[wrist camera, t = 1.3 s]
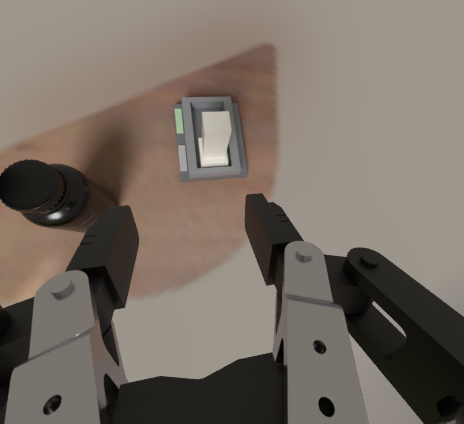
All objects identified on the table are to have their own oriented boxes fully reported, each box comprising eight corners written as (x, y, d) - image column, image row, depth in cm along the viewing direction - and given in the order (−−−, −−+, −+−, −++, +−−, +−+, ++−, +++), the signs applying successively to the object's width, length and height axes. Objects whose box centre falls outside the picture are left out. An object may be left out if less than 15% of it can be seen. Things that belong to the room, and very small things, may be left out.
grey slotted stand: (181, 182, 33) (179, 175, 31) (174, 110, 35) (172, 97, 33) (245, 177, 35) (249, 170, 32) (235, 108, 37) (238, 96, 34)
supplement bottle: (57, 199, 31) (-32, 166, 19) (105, 178, 32) (50, 134, 20) (78, 243, 30) (0, 236, 18) (126, 219, 31) (83, 199, 20)
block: (201, 169, 32) (201, 139, 24) (198, 143, 33) (197, 105, 24) (226, 167, 33) (236, 137, 24) (223, 142, 34) (231, 104, 25)
